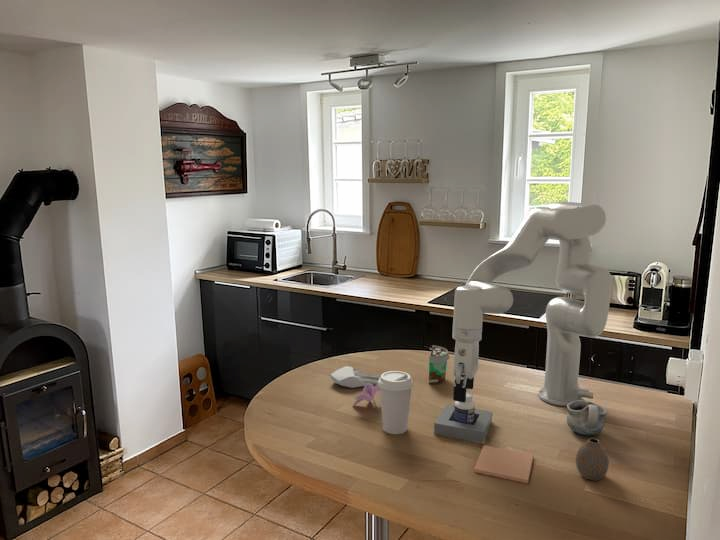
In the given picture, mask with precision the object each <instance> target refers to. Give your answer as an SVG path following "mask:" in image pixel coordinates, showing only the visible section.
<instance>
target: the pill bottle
mask: <svg viewBox="0 0 720 540" xmlns="http://www.w3.org/2000/svg"><path fill="white" fill-rule="evenodd" d="M473 396H474V395H473V393H472V392H470V391H467V390H466V401H465V402H459V401H454V405H455V406H454V422H460V423H465V424H471V425H475V424H474V412H475V409H476V405H475V404H476V403H475V402H474V400H473V398H474V397H473Z"/></svg>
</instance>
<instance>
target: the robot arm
mask: <svg viewBox="0 0 720 540" xmlns="http://www.w3.org/2000/svg"><path fill="white" fill-rule="evenodd" d="M606 220H607V215H606V211H605V210H604V208H603V207H602V206H600V205H599V204H595V203H588V202H585V203H584V202H573V201H559V202H557V201H556V202H554V203H551V204H550V205H549V206H548V207H542V206H539V207H534V208H531V209H530V210H529V211H528V212H527V213H526V215H525V217H524V218H523V220H522V221H521V222H520V224H519V226H517V228H516V230H515V232H514V234H512V236H511V238H510V239H509V241H508V242H507V243H506V245H505V246H504V247H503V248H501V249H500V250H498V251H496V252H494V253H493V254H492V255H490V256H489V257H487V258H486V259H484V260H482V261H481V263H479V264H478V265H477V266H476V267H475V269H474V270H473V272H472V274H471V275H470V276H469V277H468V279H467V280H466V283H465V285H459V286H458V287H456V289H455V290H454V302H453V316H452V317H453V319H452V334H451V335H452V339H453V340H455V345H454V357H453V358H454V359H453V376H454V383H453V392H452V393H453V395H452V396H453V397H452V399H453V401H454V402H455V401H459V402H465V401H466V391H467V390H473V389H474V382H475V376H476V374H477V371H478V369H479V351H480V348H479V347H480V345H479V342H481V341H482V333H483V321H484V320H483V319H484V317H483V316H484V314H489V315H490V314H492V315H493V314H494V315H500V314H504V313H506V312H508V311H509V310H510V309H511V307H512V306H513V304H514V295H513V293H512V291H510V290H509V288H507V287H505V286H503V285H500V284H495V283H493V282H494V281H495V280H496V279H497V278H499V277H500V276H502V275H504V274H507V273H509V272H513V271H516V270H517V271H518V270H520V269H523V268H527V267H529V266H531V265H533V263H534V262H535V260H536V259H537V257H538V256H539V253H540V252H541V250H542V249H543V248H544V246H545V245H546V243H547V242H548V241H549V240H555V241H558V242H559V254H558V262H557V269H556V274H555V275H556V276H555V284H556V287H557V289H558V290H560V291H561V292H563V293H566V294H571V295H574V296H578V297H582V298H584V300H580V299H575V298H571V297H569V296H568V297H567V296H557V297H554V298H552V299H551V300H549V301H548V303H547V305H546V307H545V319H546V321H545V322H546V329H547V340H546V341H547V342H546V354H545V357H546V358H545V371H544V383H543V385H544V386H543V388H540V389H539V390H538V397H539V399H540V400H542V401H543V402H546V403H548V404H550V405H554V406H560V407H567V404H569V403H571V402H573V401H578V400H583V398H586V399H589V400H590V399H591V400H593V399H594V392H592V391H590V389H587V388H582V387H580V383H579V373H580V360H581V349H582V348H581V347H582V346H581V345H582V344H581V339H580V336H579V335H581V336H584V337H588V338H595V337H598V336H600V335H601V334H602V333H603V332H604V331H605V328H606V325H607V322H608V317H609V311H610V310H609V309H610V303H611V298H612V292H613V278H612V274H611V273H610V272H609V270H608V269H607V268H605V267H603V266H600V265H595V264H591V262H590V261H591V260H590V259H591V253H592V252H591V251H592V245H591V241H590V238H589V237H591V236H594V235H596V234H598V233H599V232H601V231H602V230H603V228H604V226H605V224H606Z"/></svg>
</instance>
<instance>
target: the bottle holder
mask: <svg viewBox="0 0 720 540" xmlns="http://www.w3.org/2000/svg"><path fill="white" fill-rule="evenodd" d="M454 406H455V404H454V405H453V404H449V403H446V404H445V406H444V408H442V410H441V412H440V413H439V415H438V417H437V418H436V420H435V422H434V423H433V425H434V428H433V429H434V431H433V432H434V433H433V434H434V435H440V436H446V437H450V438H455V439H461V440H465V441H470V442H475V443H481V444H484V443H485V440H486V439H487V435H488V433H489V430H490V428H491V425H492V422H493V411H491V410H490V411H489V410H483V409H477V408H475V412H474V425H471V424H465V423H460V422H454Z"/></svg>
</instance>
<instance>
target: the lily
mask: <svg viewBox="0 0 720 540" xmlns="http://www.w3.org/2000/svg"><path fill="white" fill-rule="evenodd" d="M378 391H379V392H380V386H379V385H378V384H377V385H372V384H371V383H367V384H366V385H365V386H363V389H362V393H361V394H359V395H357V396H355V397H354V400H355V401H354V403H353V405H352V407H355V406H356V405H358V404H359V403H361V402H362V401H364V400H365V401H366V402H368V403H370V402H372V401H373V403H374V405H375V408H376V410H377V412H379V409H378V407H377V404H376V402H375V400H374V399H375V397H376V393H377V392H378Z"/></svg>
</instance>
